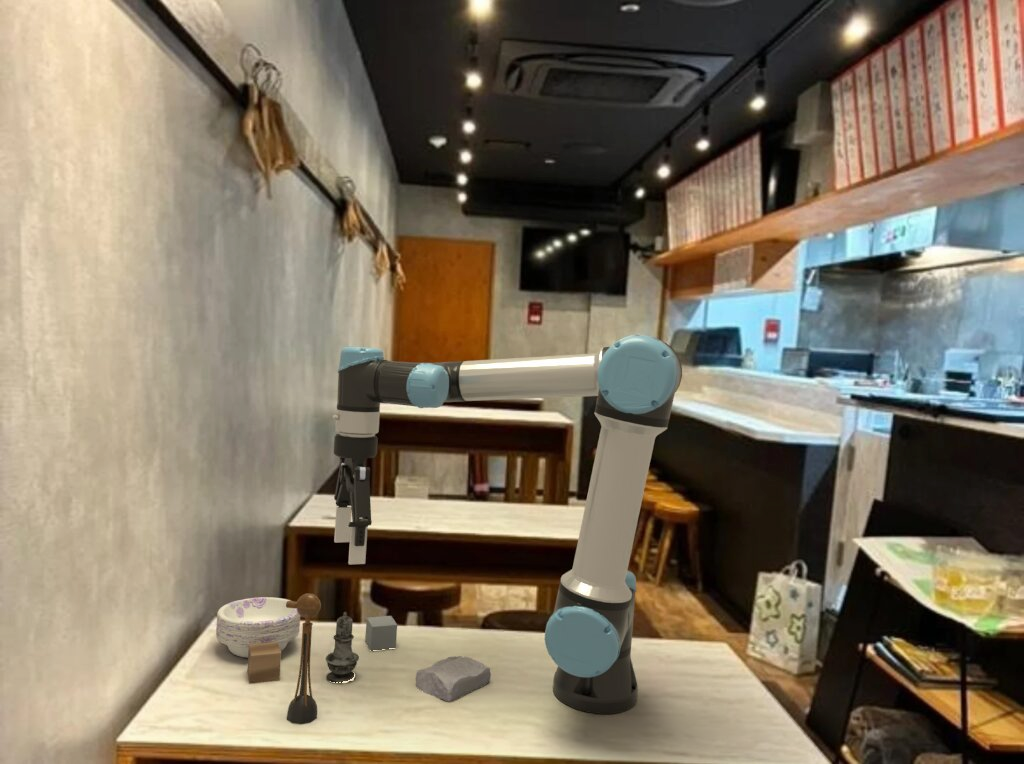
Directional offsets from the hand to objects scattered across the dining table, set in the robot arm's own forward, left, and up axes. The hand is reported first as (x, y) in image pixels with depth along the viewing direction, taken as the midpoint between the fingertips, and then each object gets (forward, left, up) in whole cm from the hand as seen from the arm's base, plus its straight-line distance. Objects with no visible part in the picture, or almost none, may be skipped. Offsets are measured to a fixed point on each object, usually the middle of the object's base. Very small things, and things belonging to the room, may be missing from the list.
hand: (348, 552), depth 132 cm
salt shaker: (0, 0, -23) cm, 23 cm away
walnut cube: (+4, +13, -23) cm, 27 cm away
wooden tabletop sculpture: (-12, +9, -23) cm, 27 cm away
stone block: (-8, -18, -23) cm, 30 cm away
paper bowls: (+16, +13, -23) cm, 31 cm away
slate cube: (+12, -10, -23) cm, 28 cm away
